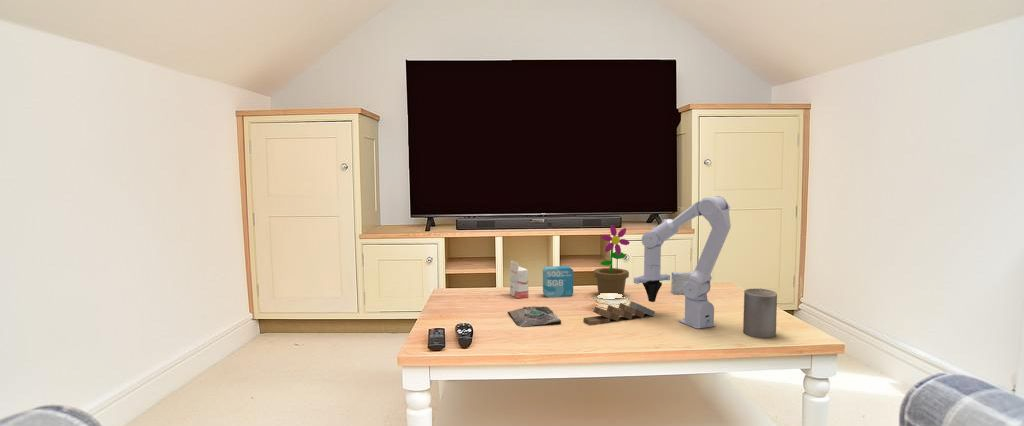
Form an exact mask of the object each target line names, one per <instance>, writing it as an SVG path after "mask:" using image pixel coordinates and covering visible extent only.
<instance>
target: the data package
mask: <svg viewBox="0 0 1024 426" xmlns="http://www.w3.org/2000/svg"><path fill="white" fill-rule="evenodd" d="M542 293H543V295H544V296H545V297H547V298H563V297H565V298H567V297H571V296H573V295H574V269H573V268H572V267H570V266H569V265H562V266H561V265H559V266H555V265H554V266H545V267H543V268H542Z"/></svg>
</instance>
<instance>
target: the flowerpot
mask: <svg viewBox="0 0 1024 426" xmlns="http://www.w3.org/2000/svg"><path fill="white" fill-rule="evenodd" d="M609 231H610V234H611V235H607V234H604V235H601V239H602V240H603V241H605V242H609V243H607V245H606V246H605V249H604V252H605V253H608V252H610V255H609V259H610V260H607V259H606V260H602V261H601V262H600V265H602V266H609V267H603V268H596V269H594V270H593V276H594V278H596V286H597V293H598V294H600V293H618V294H622V295H624V296H625V287H626V282H627V279H628V278H630V277H629V276H630V272H629V271H628V270H627V269H623V268H619V267H617V268H616V267H613V259H615V260H622V259H624V258H626V257H627V255H626V254H625V253H624V252H623V251H622V248H621V245H622V246H628V245H630V243H631V242H630V241H629V240H628V239H626V238H625V239H624V238H623V237H624V236H625V234H626V233H627V228H626V227H624V228H622V229H620V230H619V231H618V230H617V228H616V227H615V225H614V224H612V225H610V228H609ZM617 231H618V232H617ZM617 233H618V234H617ZM612 236H613V237H612ZM619 243H620V244H619ZM614 251H615V252H614Z"/></svg>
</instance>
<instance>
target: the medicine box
mask: <svg viewBox="0 0 1024 426" xmlns="http://www.w3.org/2000/svg"><path fill="white" fill-rule="evenodd" d="M691 274H692V272H690V271H688V272H687V271H673V272H671V282H670V283H671V288H670V291H671V293H672V295H684V294H683V292H682V286H683V284H684V283H685V282H686V281H687V280H688V279H689V276H690V275H691Z"/></svg>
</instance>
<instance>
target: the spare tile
mask: <svg viewBox="0 0 1024 426" xmlns="http://www.w3.org/2000/svg"><path fill="white" fill-rule="evenodd" d="M629 303H630V304H629V305H628V306H630V307H632V308H634V309H637V310H639V311H641V312H644V314H647V315H649V316H651V317H654V314H655V310H652V309H650V308H648V307H646V306H644V305H641V304H640V303H637V302H634V301H632V300H631V301H630V302H629Z"/></svg>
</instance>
